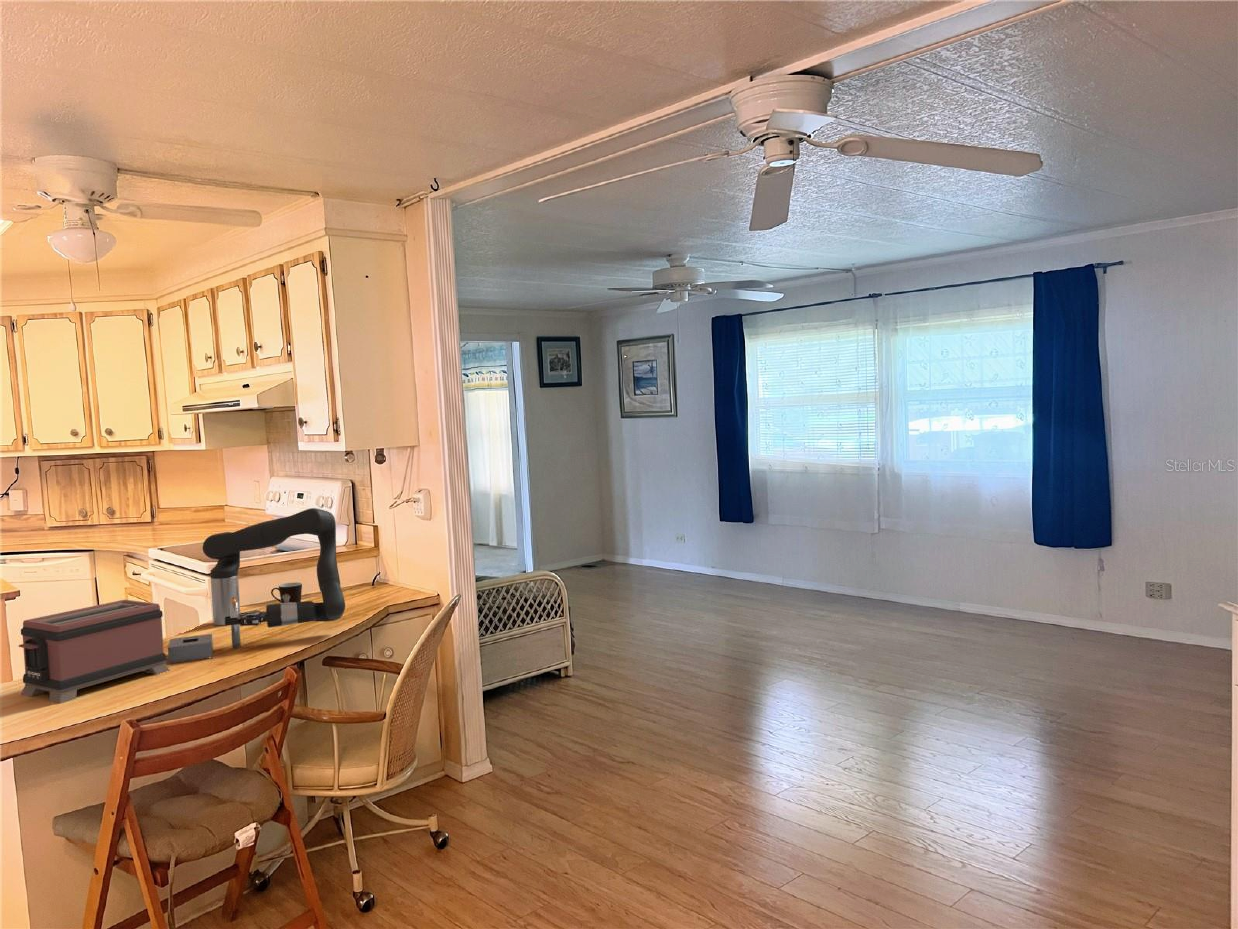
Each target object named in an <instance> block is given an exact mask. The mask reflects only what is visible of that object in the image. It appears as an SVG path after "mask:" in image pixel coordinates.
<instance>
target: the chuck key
mask: <svg viewBox="0 0 1238 929" xmlns="http://www.w3.org/2000/svg"><path fill="white" fill-rule="evenodd" d="M235 617H237V619H238V617H239V605H238V602H236V598H235V597H233V598H232V602H230V618H235ZM230 631H231V632H230V633H231V649H239V648H238V647H240V648H241V647H242V644H241V643H242V642H241V626H240V625H238V624H237V625H230Z"/></svg>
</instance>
